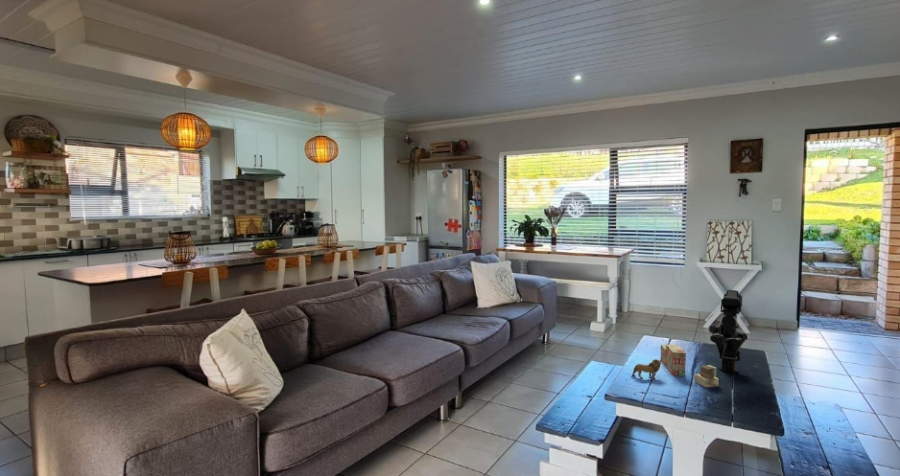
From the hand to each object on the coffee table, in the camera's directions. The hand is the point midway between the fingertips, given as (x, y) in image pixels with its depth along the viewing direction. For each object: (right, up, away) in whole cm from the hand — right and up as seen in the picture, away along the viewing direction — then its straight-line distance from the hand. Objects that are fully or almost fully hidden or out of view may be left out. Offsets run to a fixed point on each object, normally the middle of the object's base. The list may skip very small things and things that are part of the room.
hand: (728, 354), depth 221 cm
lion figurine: (-38, -12, +4) cm, 40 cm away
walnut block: (-13, -9, -5) cm, 16 cm away
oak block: (-13, -13, -4) cm, 19 cm away
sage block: (-5, -12, +6) cm, 15 cm away
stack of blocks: (-19, -12, +16) cm, 28 cm away
